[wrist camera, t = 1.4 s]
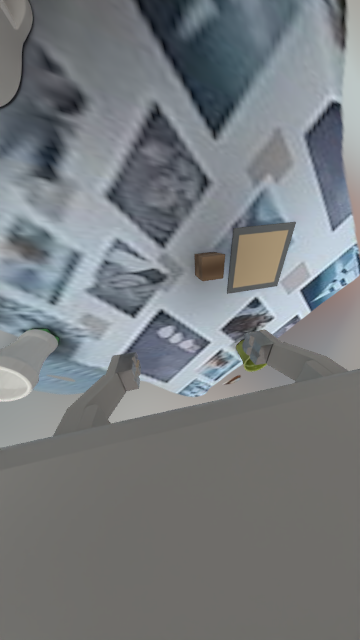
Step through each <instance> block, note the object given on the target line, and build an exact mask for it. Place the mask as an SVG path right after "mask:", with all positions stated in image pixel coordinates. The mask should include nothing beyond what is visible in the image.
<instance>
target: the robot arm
mask: <svg viewBox="0 0 360 640" xmlns="http://www.w3.org/2000/svg"><path fill="white" fill-rule="evenodd" d="M32 22H33V15H32V10H31V6H30V4H29V1H28V0H0V107H1V106H3V105H5V104H7V103H8V102H9V101H10V100H11V99H12V98H13V97H14V95H15V94H16V92H17V90H18V87H19V83H20V79H21V70H22V47H23V43H24V41H25V39H26V38H27V36H28V34H29V32H30V29H31V26H32ZM244 339H245V340H244V341H243V344H242V347H243V350H244V352H245V353H246V354H247V355H249V356H250V359H251V360H252V362H253V363H254V364H255V365H260V364H266V363H267V365H269V366H271V367H273V368H275V369H276V370H278V371H279V372H281V373H283V374H284V375H286V376H288V377H290V378H291V379H293V380H295V383H293V384H289V385H284V386H279V387H275V388H271V389H266V390H261V391H257V392H253V393H248V394H243V395H239V396H234V397H230V398H225V399H221V400H217V401H212V402H207V403H202V404H199V405H193V406H189V407H184V408H180V409H175V410H171V411H166V412H162V413H157V414H153V415H148V416H143V417H140V418H135V419H130V420H125V421H121V422H116V423H112V424H111V423H110V422H109V421H108V418H109V416H110V415H111V414H112V412H113V411H114V409H115V408H116V406H117V405H118V403H119V402H120V400H121V399H122V397H123V396H124V394H125V393H126V391H130V390H134V389H138V388H139V384H140V378H139V375H140V374H141V366H140V361H139V360H137V358H138V355H137V353H136V352H133V353H126V354H121V355H114V356H113V357H112V359H111V362H110V365H109V367H108V370H107V373H106V375H103V376H102V377H101V378H100V379H99V380H98V381H97V382H96V383H95V384H94V385H93V386H91V387H90V388H89V389H88V390H87V391H86V392H85V393H84V394H83V395H82V396H81V397H80V398H79V399H78V400H76V402H74V403H73V404H72V405H71V406H70V407H69V408H68V409H67V411H66V413H65V414H64V416H63V418H62V420H61V422H60V424H59V426H58V427H57V429H56V431H55V433H54V435H53V437H48V438H44V439H39V440H34V441H30V442H26V443H21V444H16V445H12V446H7V447H3V448H0V640H360V369H357V370H352V371H347V370H346V369H345V368H343V367H342V366H340V365H338V364H337V363H336V362H334V361H333V360H331V359H330V358H328V357H326V356H323V355H320V354H318V353H314V352H312V351H309V350H306V349H303V348H300V347H297V346H294V345H291V344H288V343H285V342H283V343H282V342H281V341H279V340H278V339H277V338H276V337H274V336H273V335H272V334H270V333H269V332H268V331H267V330H260V331H255V332H250V333H245V335H244Z"/></svg>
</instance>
